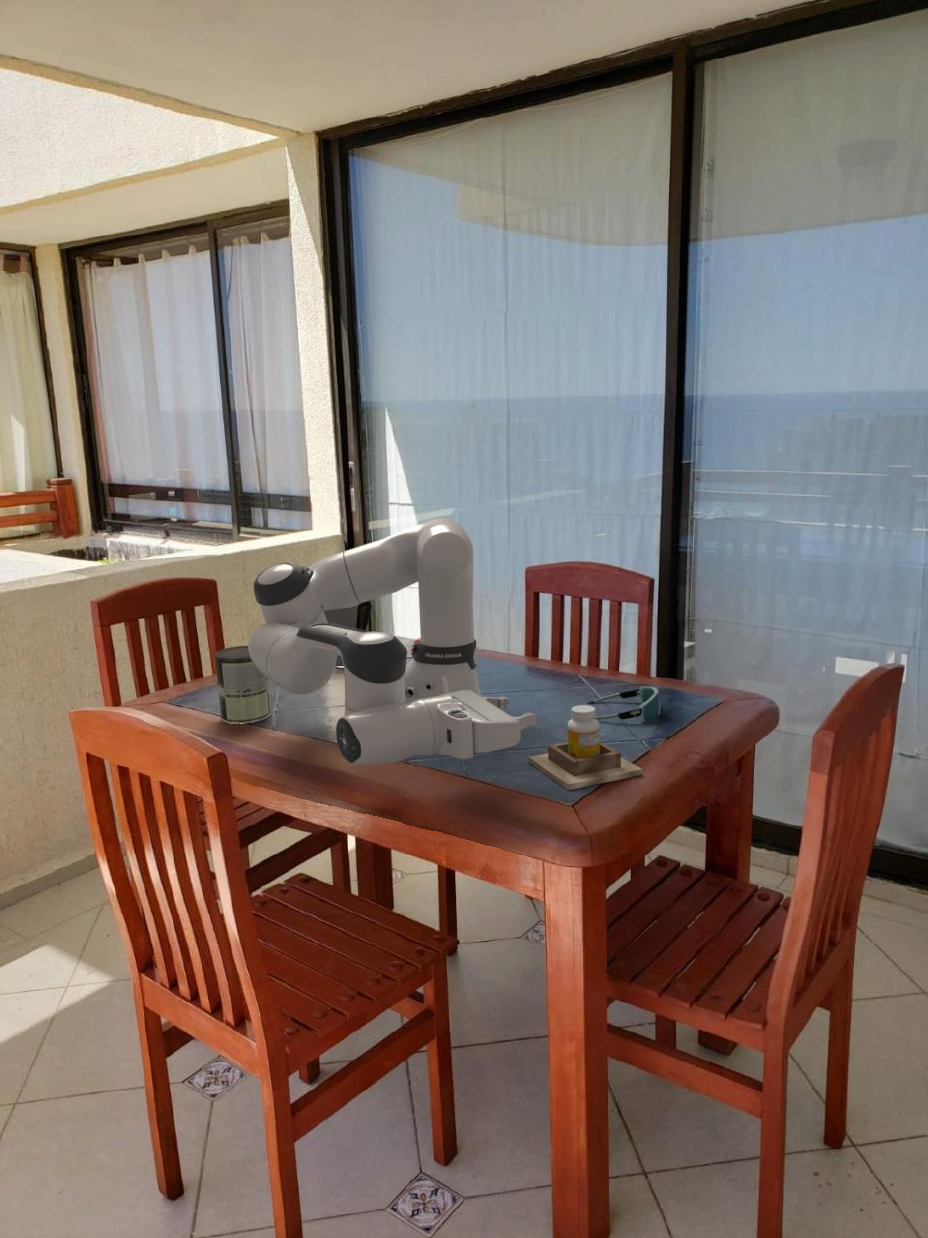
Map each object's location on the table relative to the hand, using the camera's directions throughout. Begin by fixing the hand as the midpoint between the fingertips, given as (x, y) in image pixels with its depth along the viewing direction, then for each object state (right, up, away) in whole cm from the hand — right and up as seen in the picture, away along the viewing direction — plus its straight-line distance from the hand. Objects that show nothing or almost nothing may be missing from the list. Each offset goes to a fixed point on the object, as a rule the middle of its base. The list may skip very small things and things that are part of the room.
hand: (520, 710), depth 151 cm
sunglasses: (+23, -5, +37) cm, 44 cm away
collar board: (+11, -11, +8) cm, 17 cm away
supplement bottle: (+11, -10, +8) cm, 17 cm away
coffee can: (-55, -6, +42) cm, 69 cm away
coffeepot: (-39, +4, +83) cm, 92 cm away
